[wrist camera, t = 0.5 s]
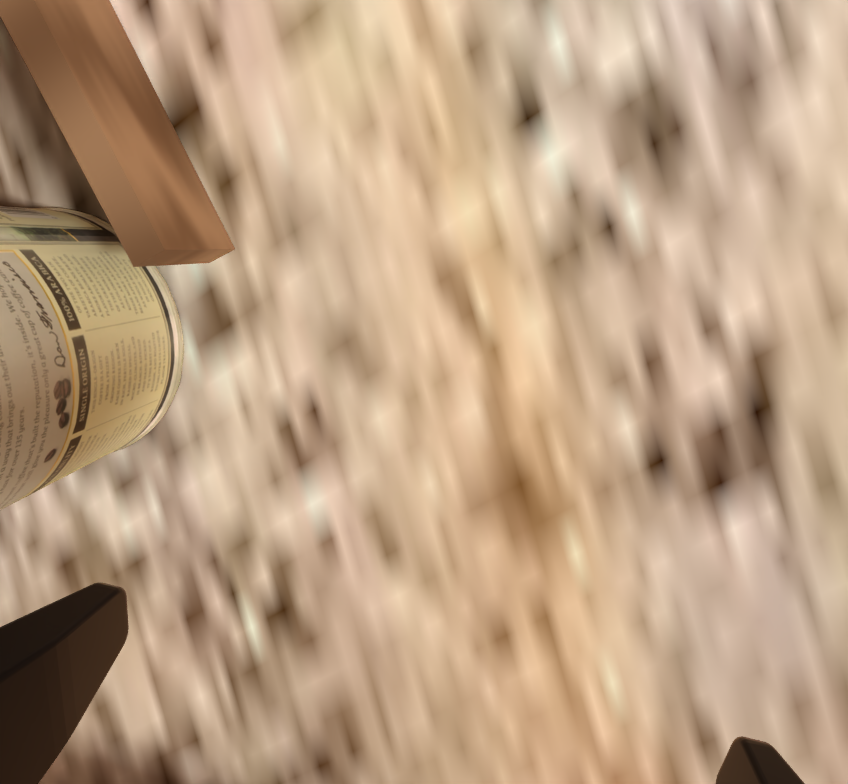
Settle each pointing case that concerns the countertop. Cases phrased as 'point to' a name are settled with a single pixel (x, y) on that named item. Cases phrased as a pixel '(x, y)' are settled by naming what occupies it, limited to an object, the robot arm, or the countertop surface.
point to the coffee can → (77, 346)
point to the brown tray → (117, 130)
